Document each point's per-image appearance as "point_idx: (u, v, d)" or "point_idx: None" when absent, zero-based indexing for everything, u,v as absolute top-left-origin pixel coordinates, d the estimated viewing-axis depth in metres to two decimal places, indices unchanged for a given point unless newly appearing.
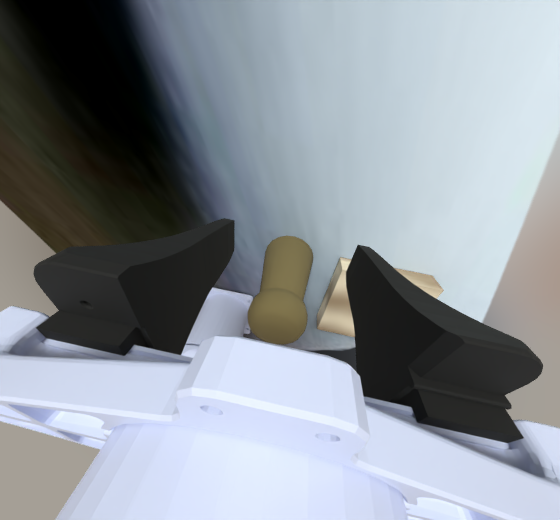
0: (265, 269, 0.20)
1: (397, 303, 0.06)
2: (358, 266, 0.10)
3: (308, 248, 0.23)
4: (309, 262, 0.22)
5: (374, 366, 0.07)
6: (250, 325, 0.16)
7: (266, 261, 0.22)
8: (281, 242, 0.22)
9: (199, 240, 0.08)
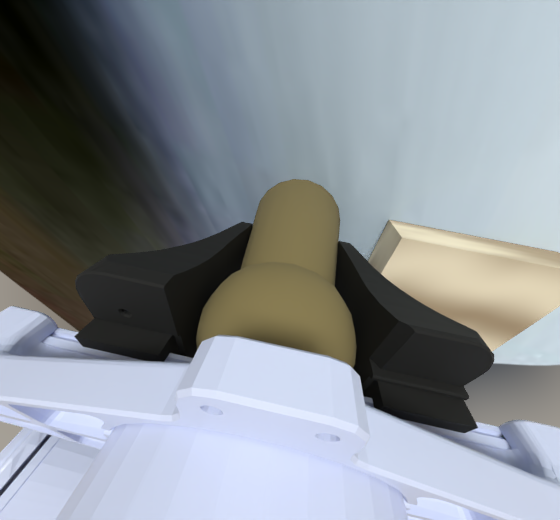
0: (252, 233, 0.10)
1: (365, 296, 0.07)
2: (338, 262, 0.10)
3: (333, 201, 0.13)
4: (337, 225, 0.12)
5: None
6: None
7: (255, 221, 0.11)
8: (284, 188, 0.12)
9: (225, 245, 0.08)
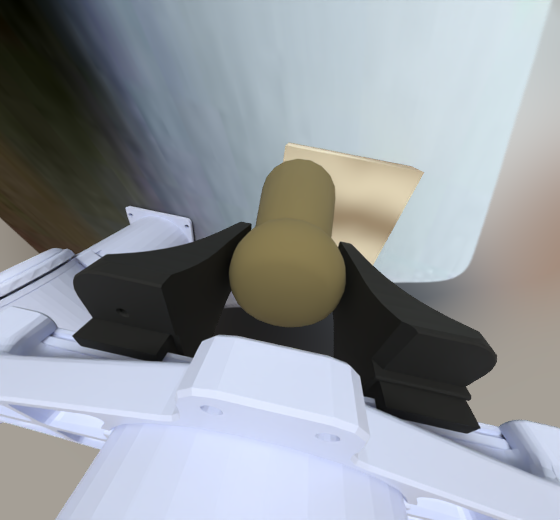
0: (263, 202, 0.12)
1: (367, 297, 0.07)
2: None
3: (331, 180, 0.15)
4: (333, 200, 0.14)
5: (347, 360, 0.07)
6: (234, 288, 0.08)
7: (265, 193, 0.13)
8: (290, 166, 0.14)
9: (223, 245, 0.08)
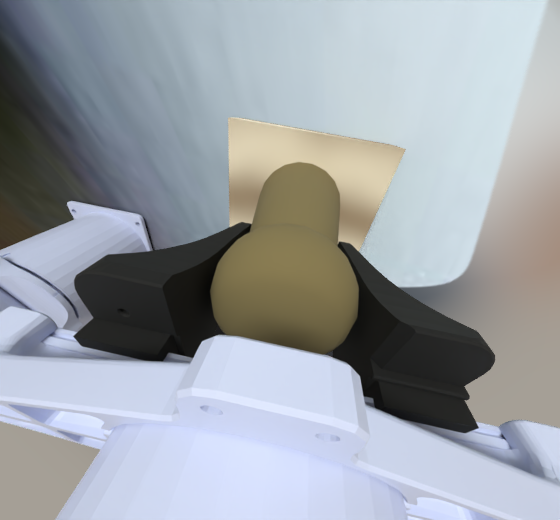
0: (259, 207, 0.10)
1: (366, 297, 0.07)
2: None
3: (335, 186, 0.13)
4: (339, 207, 0.12)
5: (345, 359, 0.07)
6: (215, 312, 0.06)
7: (261, 198, 0.11)
8: (290, 169, 0.12)
9: (224, 245, 0.08)
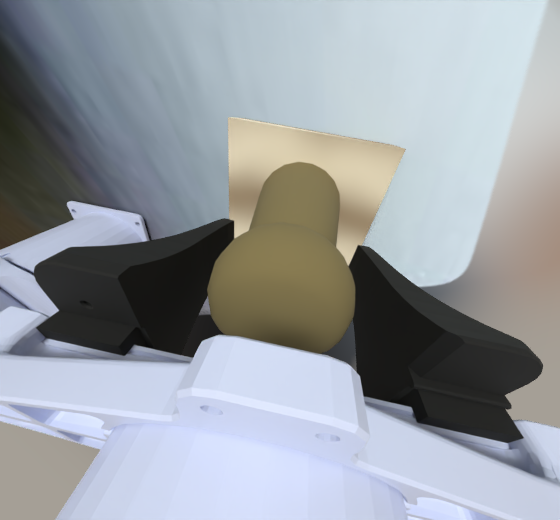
0: (258, 207, 0.10)
1: (397, 303, 0.06)
2: (358, 266, 0.10)
3: (335, 186, 0.13)
4: (338, 207, 0.12)
5: (374, 366, 0.07)
6: (212, 310, 0.06)
7: (260, 197, 0.12)
8: (289, 169, 0.12)
9: (199, 240, 0.08)
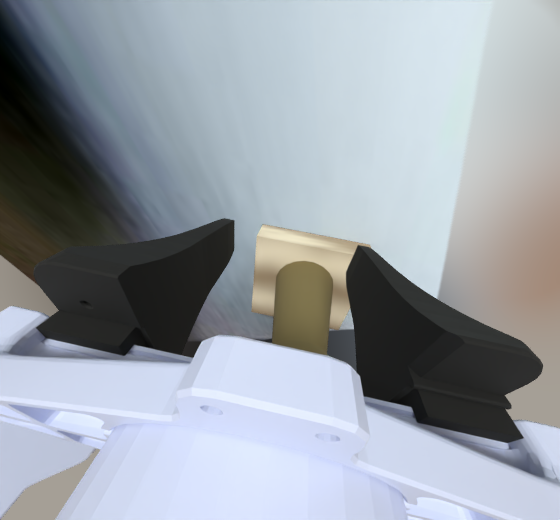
0: (279, 305, 0.16)
1: (397, 303, 0.06)
2: (358, 266, 0.10)
3: (329, 277, 0.19)
4: (331, 295, 0.18)
5: (374, 366, 0.07)
6: None
7: (279, 293, 0.18)
8: (298, 269, 0.18)
9: (199, 240, 0.08)
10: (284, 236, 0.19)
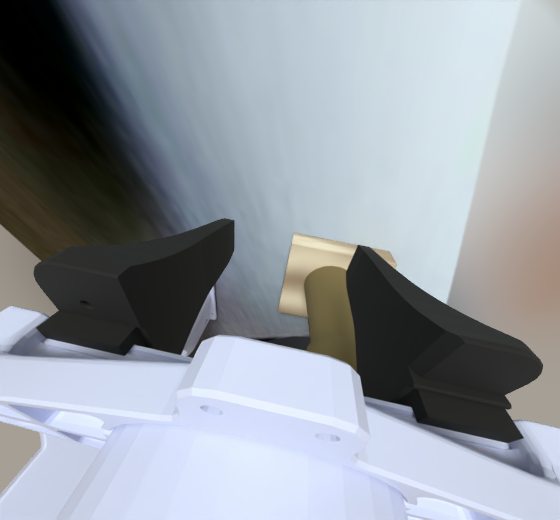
0: (314, 305, 0.19)
1: (397, 303, 0.06)
2: (358, 266, 0.10)
3: None
4: None
5: (374, 366, 0.07)
6: None
7: (313, 294, 0.20)
8: (328, 273, 0.21)
9: (199, 240, 0.08)
10: (315, 244, 0.21)
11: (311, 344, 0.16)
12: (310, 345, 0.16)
